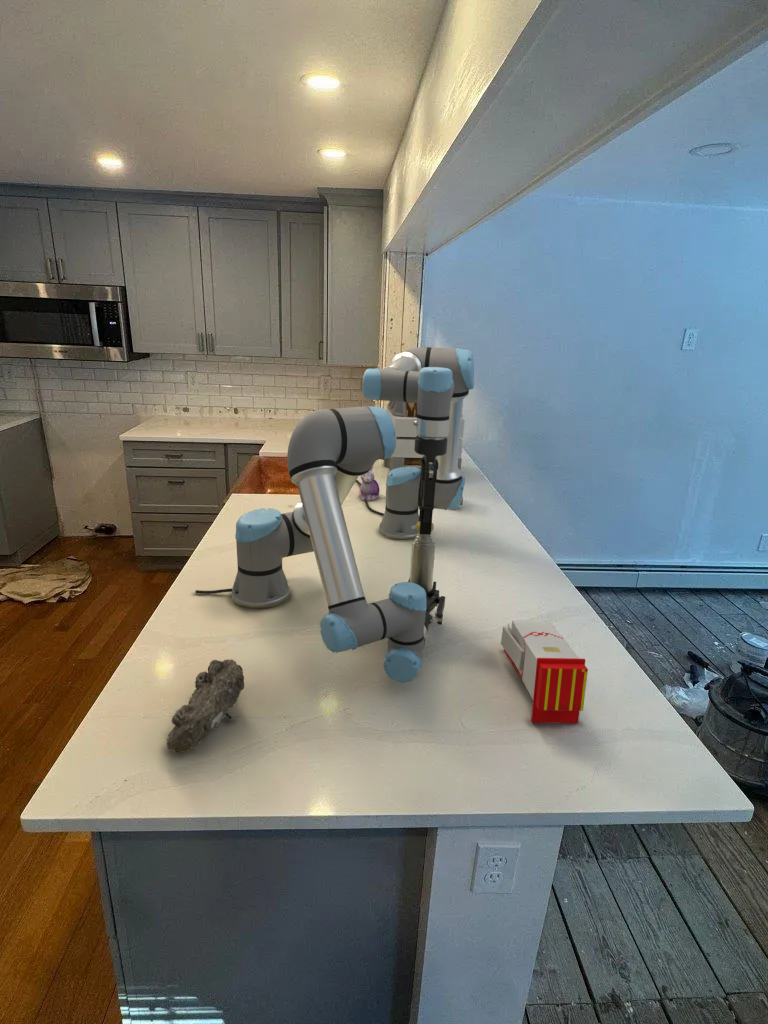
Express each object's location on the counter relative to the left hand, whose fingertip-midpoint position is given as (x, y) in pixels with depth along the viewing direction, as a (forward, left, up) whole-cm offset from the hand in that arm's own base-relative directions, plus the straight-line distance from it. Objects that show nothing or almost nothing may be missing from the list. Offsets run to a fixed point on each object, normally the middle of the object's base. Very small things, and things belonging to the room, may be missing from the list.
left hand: (422, 584), depth 150 cm
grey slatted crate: (-16, +130, -6) cm, 131 cm away
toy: (+28, -26, -6) cm, 39 cm away
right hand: (0, -5, +18) cm, 18 cm away
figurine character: (+3, +87, -6) cm, 87 cm away
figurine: (-32, +85, -6) cm, 91 cm away
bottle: (0, -5, -6) cm, 8 cm away
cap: (0, -5, +19) cm, 20 cm away
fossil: (-34, -53, -6) cm, 63 cm away
